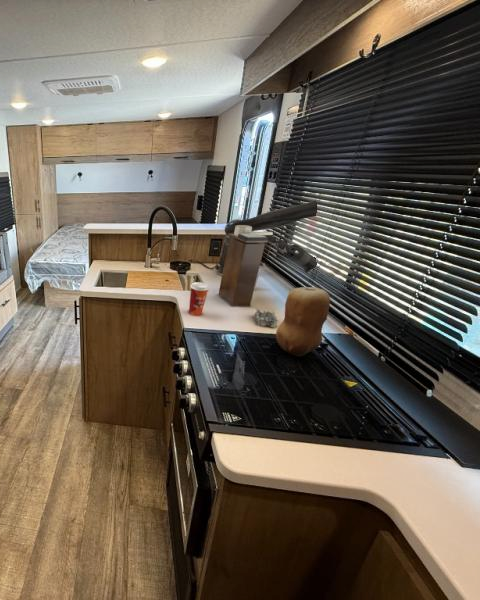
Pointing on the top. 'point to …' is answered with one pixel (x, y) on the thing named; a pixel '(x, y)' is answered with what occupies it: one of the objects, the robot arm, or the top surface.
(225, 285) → the pedestal
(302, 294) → the butternut squash
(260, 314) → the grey knobbly lump
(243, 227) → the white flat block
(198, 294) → the paper cup
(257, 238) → the scale
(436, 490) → the top surface
